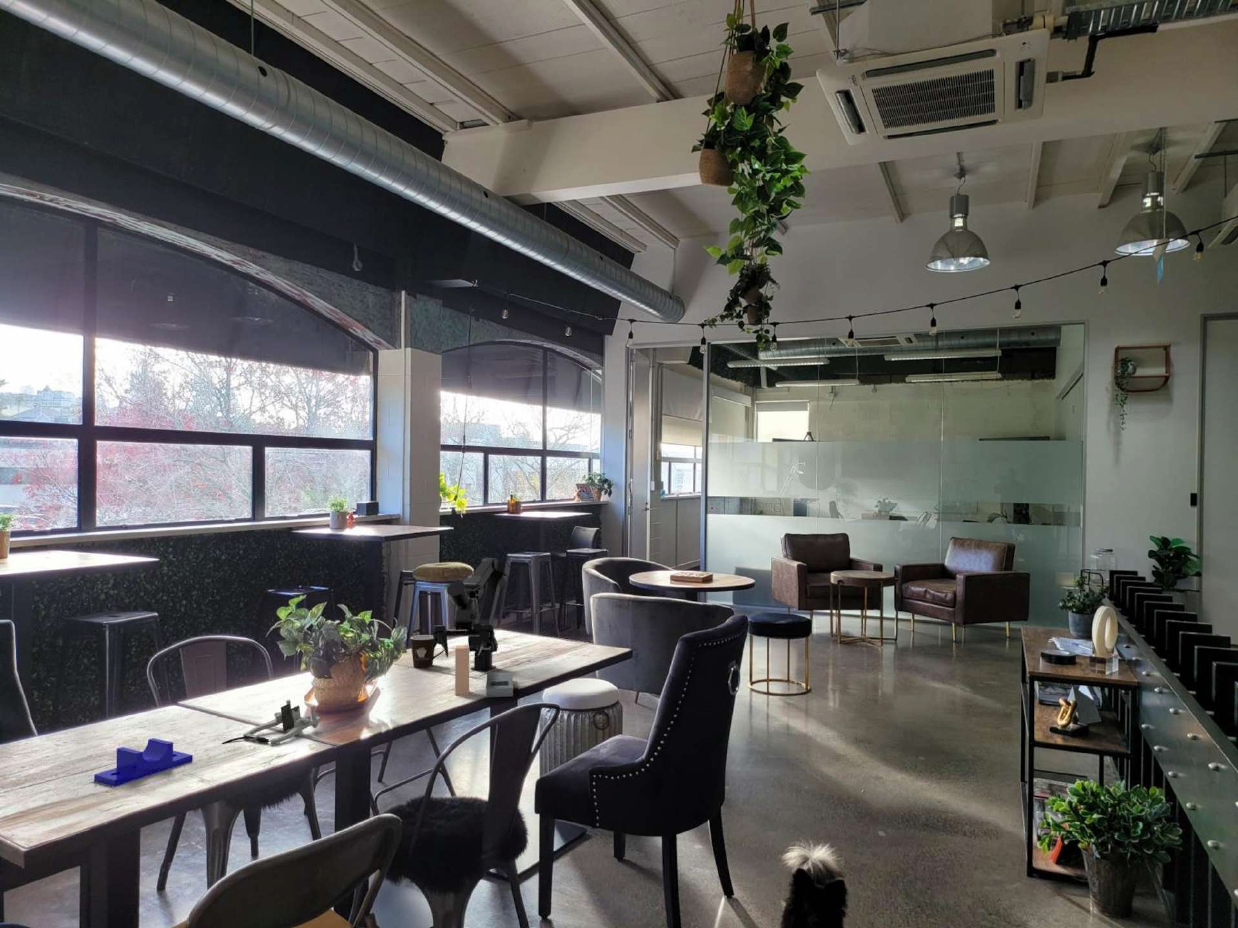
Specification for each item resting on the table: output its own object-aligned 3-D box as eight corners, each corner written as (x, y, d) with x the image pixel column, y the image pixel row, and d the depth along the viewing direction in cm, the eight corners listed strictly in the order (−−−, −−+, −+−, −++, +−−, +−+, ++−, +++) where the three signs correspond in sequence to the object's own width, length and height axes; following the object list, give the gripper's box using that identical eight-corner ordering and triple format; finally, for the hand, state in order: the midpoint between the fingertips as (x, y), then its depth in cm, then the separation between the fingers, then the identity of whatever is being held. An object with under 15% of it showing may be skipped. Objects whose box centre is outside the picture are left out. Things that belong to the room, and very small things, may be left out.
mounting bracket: (114, 788, 176) (114, 760, 176) (94, 782, 179) (94, 754, 179) (192, 762, 191) (192, 736, 192) (172, 757, 195) (173, 732, 195)
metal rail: (487, 681, 267) (487, 673, 267) (512, 680, 268) (512, 672, 269) (486, 697, 248) (486, 688, 248) (513, 696, 249) (513, 687, 249)
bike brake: (289, 720, 222) (222, 752, 204) (286, 695, 221) (219, 726, 204) (325, 728, 215) (259, 762, 198) (322, 703, 214) (256, 735, 197)
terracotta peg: (455, 691, 254) (456, 645, 254) (469, 691, 255) (469, 645, 255) (455, 695, 250) (455, 648, 250) (468, 694, 251) (468, 648, 251)
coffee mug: (405, 667, 286) (405, 638, 287) (420, 662, 294) (420, 634, 295) (433, 670, 282) (433, 641, 282) (447, 665, 290) (448, 636, 290)
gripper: (433, 599, 260) (430, 641, 249) (493, 598, 263) (493, 640, 252) (435, 620, 268) (432, 662, 257) (493, 619, 270) (493, 660, 259)
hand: (462, 656), depth 256 cm, fingers open, 9 cm apart
